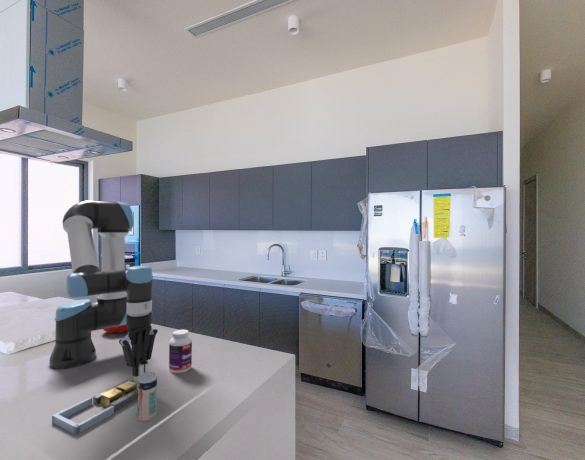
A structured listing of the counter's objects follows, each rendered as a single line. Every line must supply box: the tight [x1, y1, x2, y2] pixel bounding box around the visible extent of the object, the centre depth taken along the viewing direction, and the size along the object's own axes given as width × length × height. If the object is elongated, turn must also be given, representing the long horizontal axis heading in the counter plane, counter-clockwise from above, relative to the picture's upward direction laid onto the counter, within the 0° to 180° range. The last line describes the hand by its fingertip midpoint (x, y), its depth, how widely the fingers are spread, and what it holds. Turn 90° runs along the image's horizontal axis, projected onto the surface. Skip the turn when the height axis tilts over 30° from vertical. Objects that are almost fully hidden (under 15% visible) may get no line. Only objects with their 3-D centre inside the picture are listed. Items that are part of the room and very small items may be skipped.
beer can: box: [137, 371, 158, 422], centre depth 85 cm, size 5×5×12 cm
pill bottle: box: [168, 329, 193, 374], centre depth 113 cm, size 8×8×14 cm
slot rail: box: [92, 376, 138, 413], centre depth 94 cm, size 10×13×2 cm
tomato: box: [102, 324, 128, 334], centre depth 154 cm, size 14×16×10 cm
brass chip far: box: [117, 381, 137, 397], centre depth 95 cm, size 4×4×3 cm
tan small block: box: [101, 388, 122, 407], centre depth 91 cm, size 4×4×3 cm
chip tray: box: [51, 396, 115, 436], centre depth 83 cm, size 11×10×2 cm
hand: (138, 384), depth 99 cm, fingers closed
